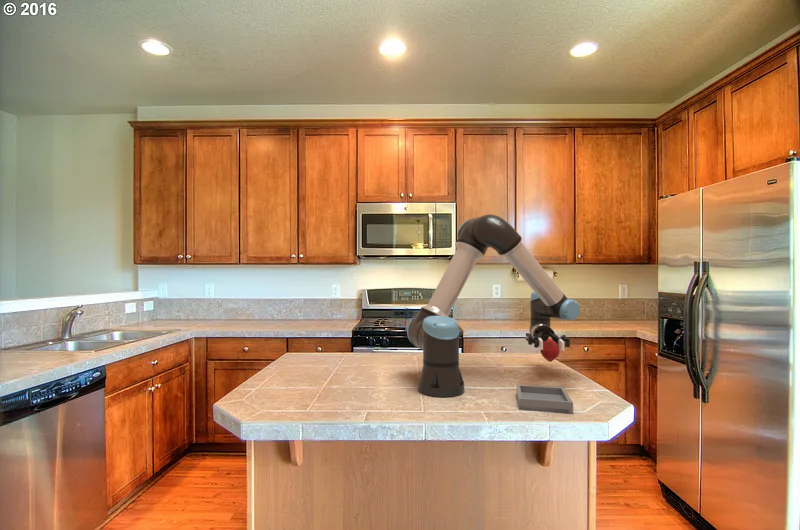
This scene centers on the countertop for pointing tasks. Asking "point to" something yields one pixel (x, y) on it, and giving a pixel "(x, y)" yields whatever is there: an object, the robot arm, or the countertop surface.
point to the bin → (544, 399)
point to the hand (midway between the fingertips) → (552, 345)
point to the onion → (550, 350)
